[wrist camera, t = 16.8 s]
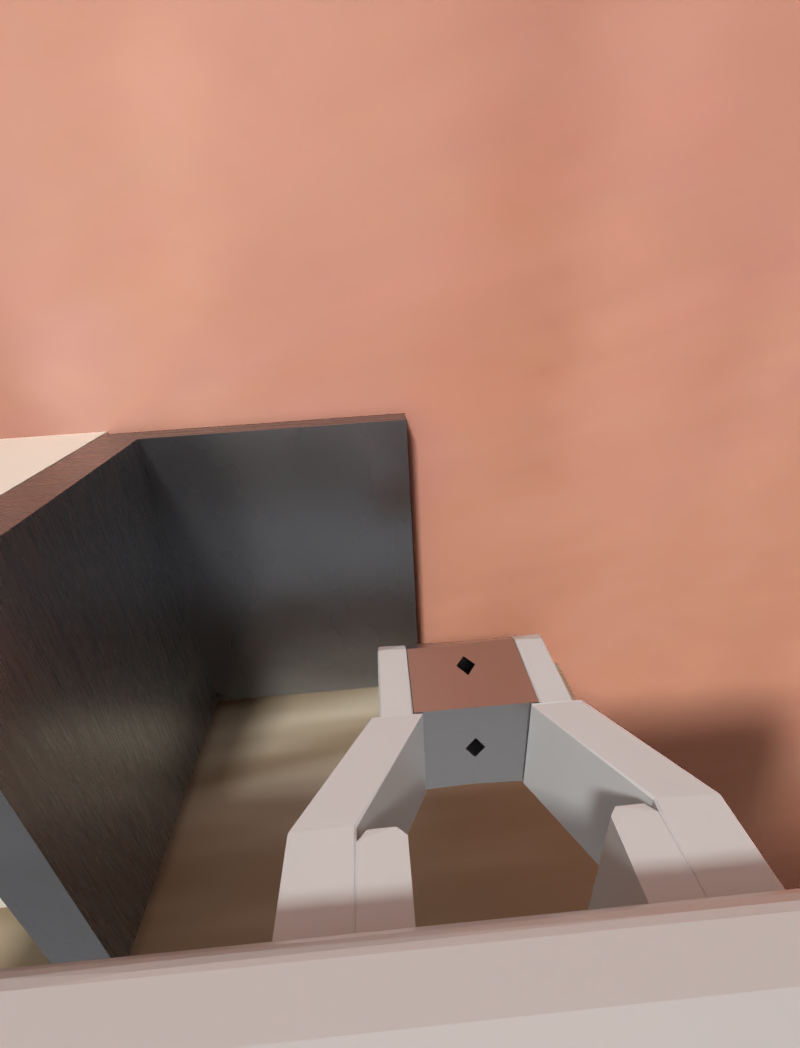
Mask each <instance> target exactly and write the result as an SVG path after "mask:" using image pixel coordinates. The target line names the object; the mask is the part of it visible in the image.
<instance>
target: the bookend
mask: <svg viewBox="0 0 800 1048" xmlns="http://www.w3.org/2000/svg"><path fill="white" fill-rule="evenodd" d="M410 644H418V642H417V622H416V602H415V582H414V562H413V542H412V522H411V502H410V482H409V462H408V442H407V422H406V417H405V413H400V414H386V415H372V416H358V417H344V418H330V419H316V420H302V421H288V422H274V423H260V424H246V425H232V426H218V427H204V428H190V429H176V430H162V431H148V432H134V433H120V434H106V435H103V436H101V437H100V438H98V439H96V440H95V441H93V442H91V443H90V444H88V445H86V446H85V447H83V448H81V449H80V450H78V451H76V452H75V453H73V454H71V455H70V456H68V457H66V458H65V459H63V460H61V461H60V462H58V463H56V464H55V465H53V466H51V467H50V468H48V469H46V470H45V471H43V472H41V473H40V474H38V475H36V476H35V477H33V478H31V479H30V480H28V481H26V482H25V483H23V484H21V485H20V486H18V487H16V488H15V489H13V490H11V491H10V492H8V493H6V494H5V495H3V496H1V497H0V898H1V899H2V901H3V902H4V903H5V905H6V906H7V907H8V909H9V910H10V911H11V912H12V914H13V915H14V916H15V918H16V919H17V920H18V921H19V923H20V924H21V925H22V927H23V928H24V929H25V930H26V932H27V933H28V934H29V936H30V937H31V938H32V939H33V941H34V942H35V943H36V945H37V946H38V947H39V948H40V950H41V951H42V952H43V954H44V955H45V956H46V957H47V959H48V960H49V961H50V963H51V964H56V963H66V962H76V961H85V960H95V959H105V958H115V957H125V956H129V955H130V952H131V950H132V947H133V944H134V941H135V938H136V935H137V932H138V929H139V927H140V924H141V921H142V918H143V915H144V912H145V909H146V906H147V903H148V901H149V898H150V895H151V892H152V889H153V886H154V883H155V880H156V878H157V875H158V872H159V869H160V866H161V863H162V860H163V857H164V855H165V852H166V849H167V846H168V843H169V840H170V837H171V834H172V831H173V829H174V826H175V823H176V820H177V817H178V814H179V811H180V808H181V806H182V803H183V800H184V797H185V794H186V791H187V788H188V785H189V783H190V780H191V777H192V774H193V771H194V768H195V765H196V762H197V759H198V757H199V754H200V751H201V748H202V745H203V742H204V739H205V736H206V734H207V731H208V728H209V725H210V722H211V719H212V716H213V713H214V711H215V708H216V705H217V702H218V701H223V700H234V699H245V698H257V697H268V696H279V695H290V694H301V693H312V692H324V691H335V690H346V689H357V688H368V687H379V685H378V647H385V646H402V645H404V646H405V647H406V645H410Z"/></svg>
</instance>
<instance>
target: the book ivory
mask: <svg viewBox="0 0 800 1048" xmlns="http://www.w3.org/2000/svg"><path fill="white" fill-rule="evenodd" d="M106 434H108V433H107V432H93V433H80V434H66V435H52V436H38V437H24V438H10V439H0V497H1V496H3V495H5V494H6V493H8V492H10V491H11V490H13V489H15V488H16V487H18V486H20V485H21V484H23V483H25V482H26V481H28V480H30V479H31V478H33V477H35V476H36V475H38V474H40V473H41V472H43V471H45V470H46V469H48V468H50V467H51V466H53V465H55V464H56V463H58V462H60V461H61V460H63V459H65V458H66V457H68V456H70V455H71V454H73V453H75V452H76V451H78V450H80V449H81V448H83V447H85V446H86V445H88V444H90V443H91V442H93V441H95V440H96V439H98V438H100V437H101V436H103V435H106ZM4 907H7V906H6V905H5V903H4V902H3V901H2V899H1V898H0V908H4Z"/></svg>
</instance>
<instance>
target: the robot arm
mask: <svg viewBox="0 0 800 1048" xmlns="http://www.w3.org/2000/svg"><path fill="white" fill-rule="evenodd" d="M378 685H379V717H375V718H371V719H370V720H369V722H368V723H367V724H366V726H365V727H364V728H363V730H362V731H361V733H360V734H359V735H358V737H357V738H356V740H355V741H354V742H353V744H352V745H351V747H350V748H349V749H348V751H347V752H346V753H345V755H344V756H343V758H342V759H341V760H340V762H339V763H338V765H337V766H336V767H335V769H334V770H333V771H332V773H331V774H330V776H329V777H328V778H327V780H326V781H325V783H324V784H323V785H322V787H321V788H320V790H319V791H318V792H317V794H316V795H315V796H314V798H313V799H312V801H311V802H310V803H309V805H308V806H307V808H306V809H305V810H304V812H303V813H302V815H301V816H300V817H299V819H298V820H297V821H296V823H295V824H294V826H293V827H292V828H291V830H290V831H289V833H288V835H287V842H286V849H285V856H284V862H283V869H282V876H281V883H280V890H279V897H278V904H277V911H276V918H275V925H274V932H273V938H272V942H263V943H254V944H244V945H234V946H224V947H214V948H204V949H194V950H184V951H174V952H165V953H155V954H145V955H135V956H125V957H115V958H105V959H95V960H85V961H76V962H66V963H56V964H46V965H36V966H26V967H16V968H6V969H0V1048H800V888H798V889H788V890H785V889H784V887H783V886H782V884H781V883H780V881H779V880H778V878H777V877H776V875H775V874H774V872H773V871H772V870H771V868H770V867H769V865H768V864H767V862H766V861H765V859H764V858H763V856H762V855H761V853H760V852H759V850H758V849H757V848H756V846H755V845H754V843H753V842H752V840H751V839H750V837H749V836H748V834H747V833H746V831H745V830H744V828H743V827H742V826H741V824H740V823H739V821H738V820H737V818H736V817H735V815H734V814H733V812H732V811H731V809H730V808H729V806H728V805H727V804H726V802H725V801H724V799H723V798H722V796H721V795H720V794H719V793H718V792H716V791H715V790H713V789H712V788H710V787H709V786H707V785H706V784H704V783H703V782H701V781H700V780H698V779H697V778H695V777H694V776H693V775H691V774H690V773H688V772H687V771H685V770H684V769H682V768H681V767H679V766H678V765H676V764H675V763H673V762H672V761H671V760H669V759H668V758H666V757H665V756H663V755H662V754H660V753H659V752H657V751H656V750H654V749H653V748H651V747H650V746H649V745H647V744H646V743H644V742H643V741H641V740H640V739H638V738H637V737H635V736H634V735H632V734H631V733H629V732H628V731H627V730H625V729H624V728H622V727H621V726H619V725H618V724H616V723H615V722H613V721H612V720H610V719H609V718H607V717H606V716H604V715H603V714H602V713H600V712H599V711H597V710H596V709H594V708H593V707H591V706H590V705H588V704H587V703H585V702H584V701H582V700H572V698H571V695H570V693H569V691H568V689H567V687H566V685H565V683H564V681H563V679H562V677H561V675H560V673H559V671H558V669H557V667H556V665H555V663H554V661H553V659H552V657H551V655H550V653H549V651H548V649H547V647H546V645H545V643H544V641H543V639H542V637H541V636H540V635H538V634H531V635H521V636H511V638H510V637H505V638H494V639H483V640H472V641H461V642H445V643H427V644H410V645H406V647H405V646H404V645H402V646H385V647H378ZM523 780H524V782H523V783H524V784H525V785H526V786H527V788H528V789H529V790H530V791H531V792H532V793H533V794H534V795H535V796H536V797H537V798H538V800H539V801H540V802H541V803H542V804H543V805H544V806H545V807H546V808H547V809H548V810H549V812H550V813H551V814H552V815H553V816H554V817H555V818H556V819H557V820H558V821H559V822H560V824H561V825H562V826H563V827H564V828H565V829H566V830H567V831H568V832H569V833H570V834H571V836H572V837H573V838H574V839H575V840H576V841H577V842H578V843H579V844H580V845H581V846H582V848H583V849H584V850H585V851H586V852H587V853H588V854H589V855H590V856H591V857H592V858H593V859H594V861H595V862H596V863H597V864H598V865H599V867H598V871H597V875H596V879H595V883H594V887H593V892H592V896H591V900H590V904H589V908H588V910H579V911H569V912H559V913H549V914H539V915H530V916H520V917H510V918H500V919H490V920H480V921H471V922H461V923H451V924H441V925H431V926H422V927H416V925H415V913H414V901H413V890H412V878H411V866H410V855H409V843H408V833H409V831H410V828H411V826H412V824H413V822H414V819H415V817H416V815H417V813H418V810H419V808H420V806H421V803H422V801H423V799H424V797H425V794H426V789H433V788H442V787H450V786H458V785H466V784H476V783H491V782H507V781H523Z"/></svg>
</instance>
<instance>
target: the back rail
mask: <svg viewBox="0 0 800 1048" xmlns="http://www.w3.org/2000/svg"><path fill="white" fill-rule="evenodd" d="M555 665H556V667H557V669H558V671H559V673H560V675H561V677H562V679H563V681H564V683H565V685H566V687H567V689H568V691H569V693H570V695H571V698H572V700H576V699H575V697H574V695H573V693H572V691H571V689H570V687H569V685H568V683H567V681H566V679H565V677H564V675H563V673H562V671H561V669H560V667H559V665H558V664H555ZM375 717H379V687H368V688H357V689H346V690H335V691H324V692H312V693H301V694H290V695H279V696H268V697H257V698H245V699H234V700H223V701H218V702H217V705H216V708H215V711H214V713H213V716H212V719H211V722H210V725H209V728H208V731H207V734H206V736H205V739H204V742H203V745H202V748H201V751H200V754H199V757H198V759H197V762H196V765H195V768H194V771H193V774H192V777H191V780H190V783H189V785H188V788H187V791H186V794H185V797H184V800H183V803H182V806H181V808H180V811H179V814H178V817H177V820H176V823H175V826H174V829H173V831H172V834H171V837H170V840H169V843H168V846H167V849H166V852H165V855H164V857H163V860H162V863H161V866H160V869H159V872H158V875H157V878H156V880H155V883H154V886H153V889H152V892H151V895H150V898H149V901H148V903H147V906H146V909H145V912H144V915H143V918H142V921H141V924H140V927H139V929H138V932H137V935H136V938H135V941H134V944H133V947H132V950H131V952H130V955H129V956H135V955H145V954H155V953H165V952H174V951H184V950H194V949H204V948H214V947H224V946H234V945H244V944H254V943H263V942H272V938H273V932H274V925H275V918H276V911H277V904H278V897H279V890H280V883H281V876H282V869H283V862H284V856H285V849H286V842H287V835H288V833H289V831H290V830H291V828H292V827H293V826H294V824H295V823H296V821H297V820H298V819H299V817H300V816H301V815H302V813H303V812H304V810H305V809H306V808H307V806H308V805H309V803H310V802H311V801H312V799H313V798H314V796H315V795H316V794H317V792H318V791H319V790H320V788H321V787H322V785H323V784H324V783H325V781H326V780H327V778H328V777H329V776H330V774H331V773H332V771H333V770H334V769H335V767H336V766H337V765H338V763H339V762H340V760H341V759H342V758H343V756H344V755H345V753H346V752H347V751H348V749H349V748H350V747H351V745H352V744H353V742H354V741H355V740H356V738H357V737H358V735H359V734H360V733H361V731H362V730H363V728H364V727H365V726H366V724H367V723H368V722H369V720H370V719H371V718H375ZM523 782H524V780H523V781H507V782H491V783H476V784H466V785H458V786H450V787H442V788H433V789H426V794H425V797H424V799H423V801H422V803H421V806H420V808H419V810H418V813H417V815H416V817H415V819H414V822H413V824H412V826H411V828H410V831H409V833H408V843H409V855H410V866H411V878H412V890H413V901H414V913H415V925H416V927H422V926H431V925H441V924H451V923H461V922H471V921H480V920H490V919H500V918H510V917H520V916H530V915H539V914H549V913H559V912H569V911H579V910H588V908H589V904H590V900H591V896H592V892H593V887H594V883H595V879H596V875H597V871H598V867H599V865H598V864H597V863H596V862H595V861H594V859H593V858H592V857H591V856H590V855H589V854H588V853H587V852H586V851H585V850H584V849H583V848H582V846H581V845H580V844H579V843H578V842H577V841H576V840H575V839H574V838H573V837H572V836H571V834H570V833H569V832H568V831H567V830H566V829H565V828H564V827H563V826H562V825H561V824H560V822H559V821H558V820H557V819H556V818H555V817H554V816H553V815H552V814H551V813H550V812H549V810H548V809H547V808H546V807H545V806H544V805H543V804H542V803H541V802H540V801H539V800H538V798H537V797H536V796H535V795H534V794H533V793H532V792H531V791H530V790H529V789H528V788H527V786H526V785H525V784H524V783H523ZM46 964H51V963H50V961H49V960H48V959H47V957H46V956H45V955H44V954H43V952H42V951H41V950H40V948H39V947H38V946H37V945H36V943H35V942H34V941H33V939H32V938H31V937H30V936H29V934H28V933H27V932H26V930H25V929H24V928H23V927H22V925H21V924H20V923H19V921H18V920H17V919H16V918H15V916H14V915H13V914H12V912H11V911H10V910H9V909H8V907H4V908H0V969H6V968H16V967H26V966H36V965H46Z"/></svg>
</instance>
